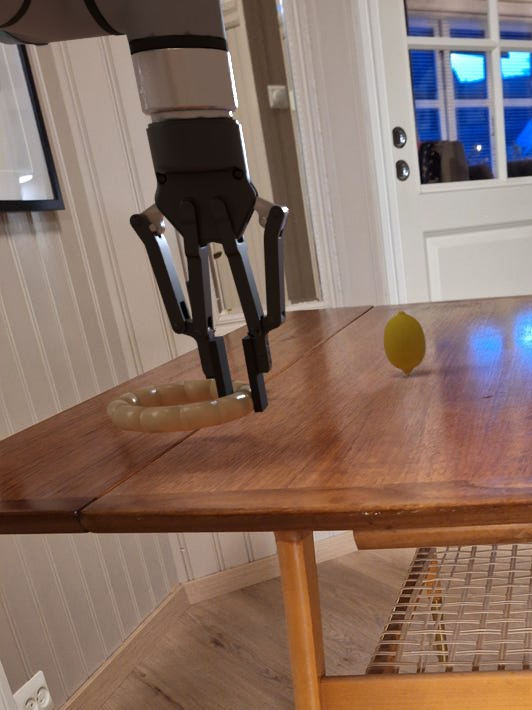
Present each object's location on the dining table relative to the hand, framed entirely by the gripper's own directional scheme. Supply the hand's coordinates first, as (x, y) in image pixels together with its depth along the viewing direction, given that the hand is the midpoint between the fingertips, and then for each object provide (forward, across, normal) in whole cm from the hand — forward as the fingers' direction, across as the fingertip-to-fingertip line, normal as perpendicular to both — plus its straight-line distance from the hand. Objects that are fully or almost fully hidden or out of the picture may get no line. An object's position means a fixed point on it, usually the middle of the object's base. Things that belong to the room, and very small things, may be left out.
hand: (245, 409), depth 81 cm
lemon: (+5, -13, -37) cm, 39 cm away
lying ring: (-1, +6, 0) cm, 6 cm away
